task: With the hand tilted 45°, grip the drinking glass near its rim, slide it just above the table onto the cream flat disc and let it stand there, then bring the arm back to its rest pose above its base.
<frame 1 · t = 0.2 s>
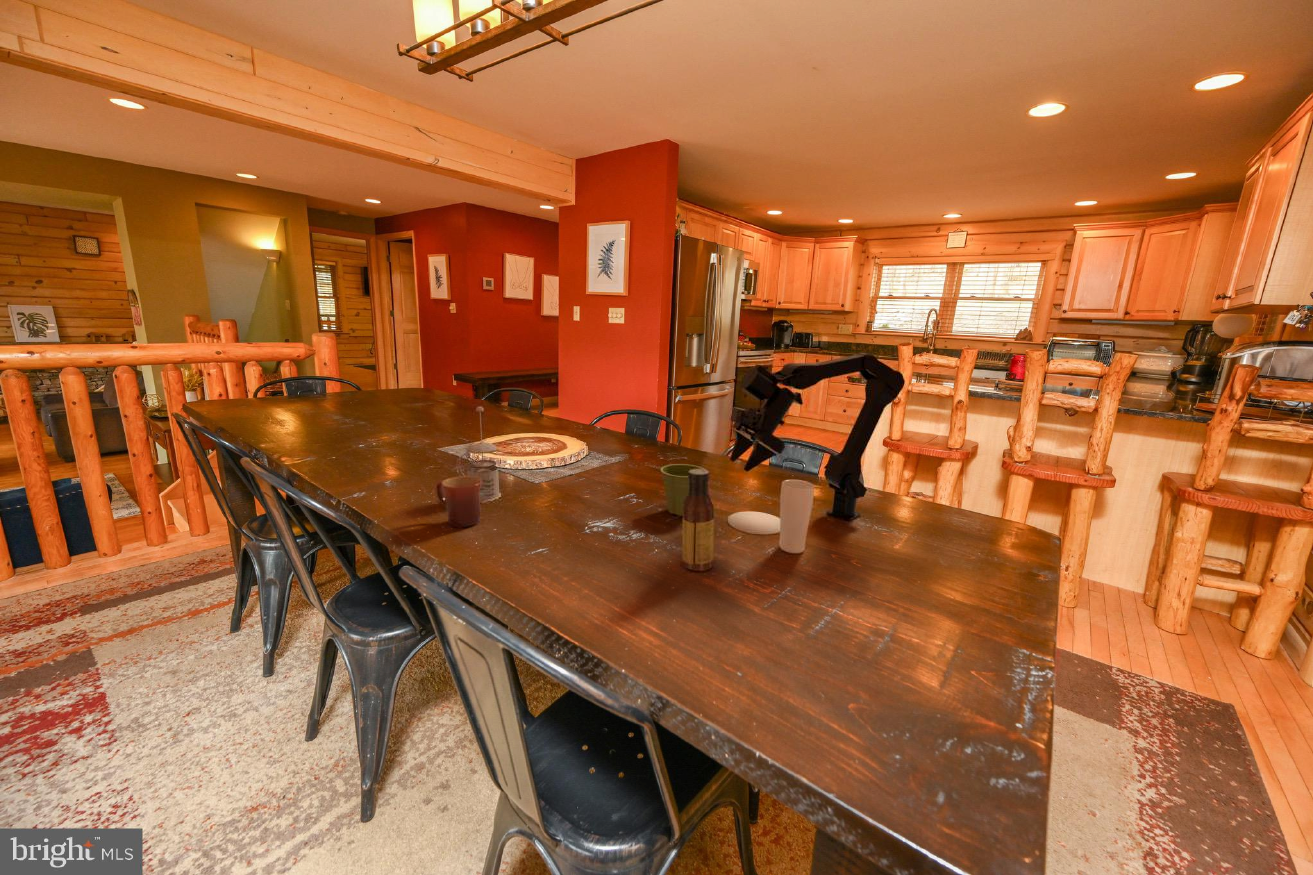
hand: (738, 465, 120), 15 cm above the table, tool tilted 30°, fingers open, 9 cm apart
plant pot: (681, 512, 130), on the table
mug: (459, 522, 119), on the table
french press: (481, 498, 135), on the table
cream flat disc: (756, 522, 124), on the table
sauce bottle: (696, 566, 101), on the table
drinking glass: (791, 549, 110), on the table
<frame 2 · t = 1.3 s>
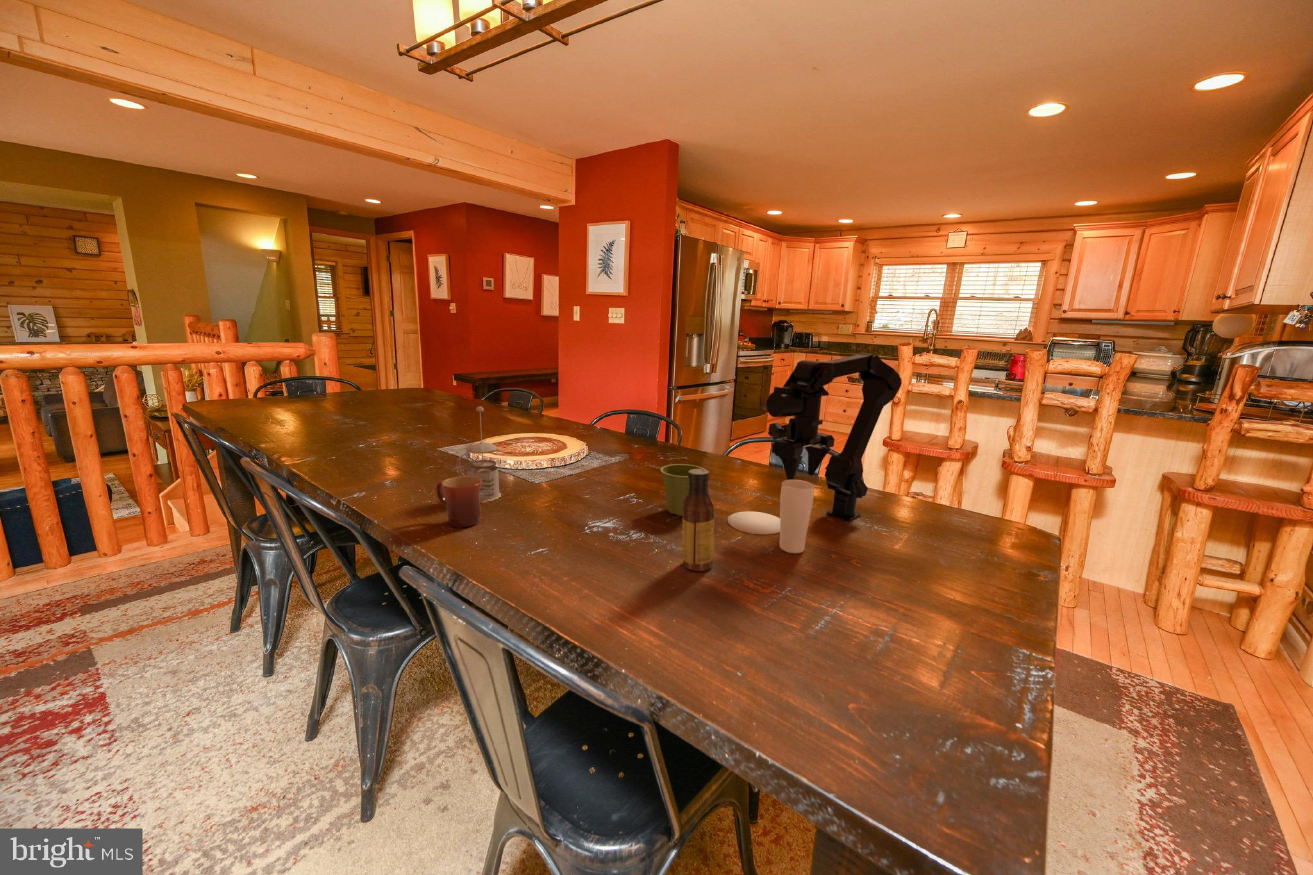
hand: (800, 478, 121), 12 cm above the table, tool pointing down, fingers open, 9 cm apart
nothing on the table moved.
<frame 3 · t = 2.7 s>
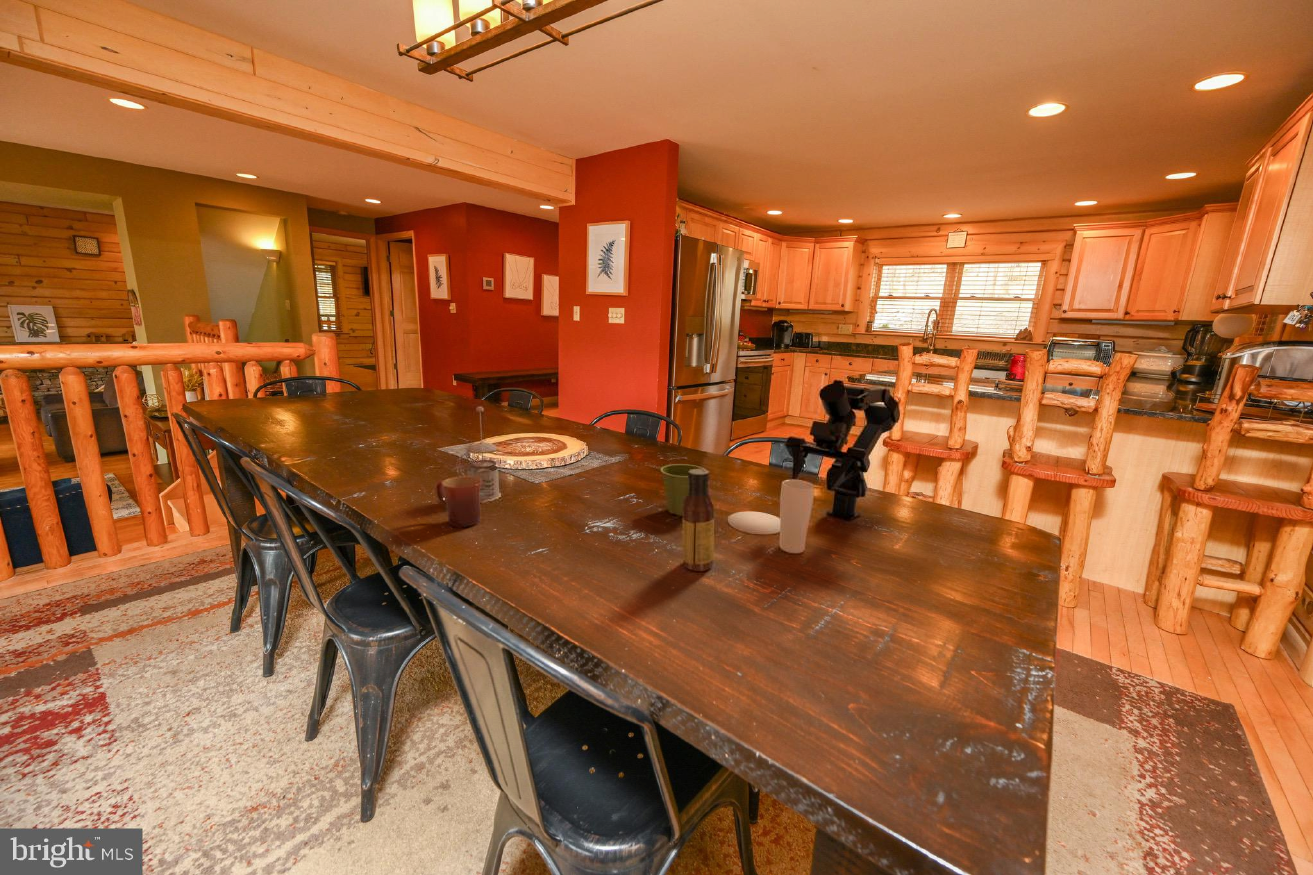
hand: (812, 483, 112), 13 cm above the table, tool tilted 45°, fingers open, 9 cm apart
nothing on the table moved.
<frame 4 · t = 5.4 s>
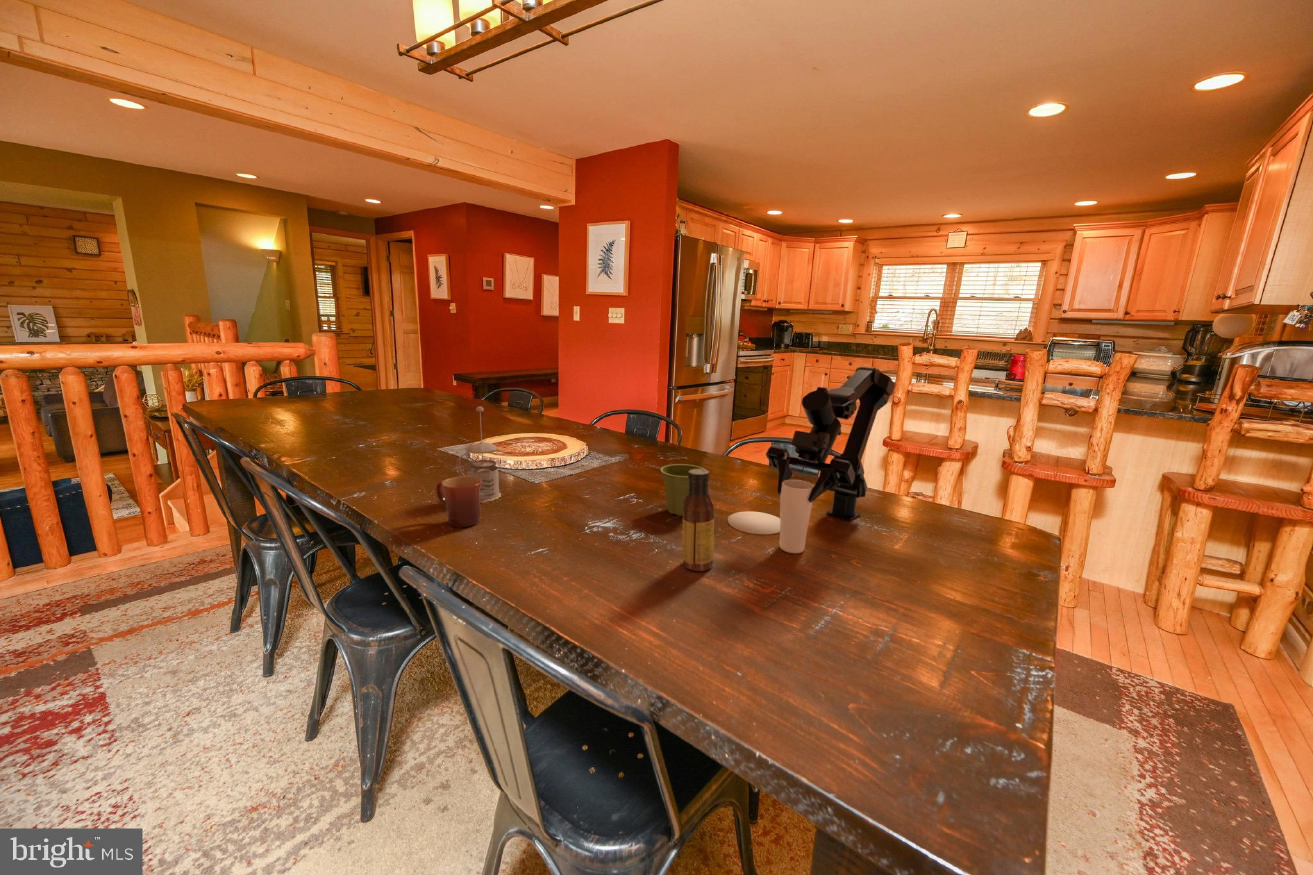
hand: (793, 497, 106), 12 cm above the table, tool tilted 45°, fingers closed on drinking glass, 7 cm apart
drinking glass: (791, 549, 110), on the table, touching gripper
everything else where it was.
when the fingers open (13 cm above the table, at t = 9.6 s): drinking glass stays where it is, resting on cream flat disc.
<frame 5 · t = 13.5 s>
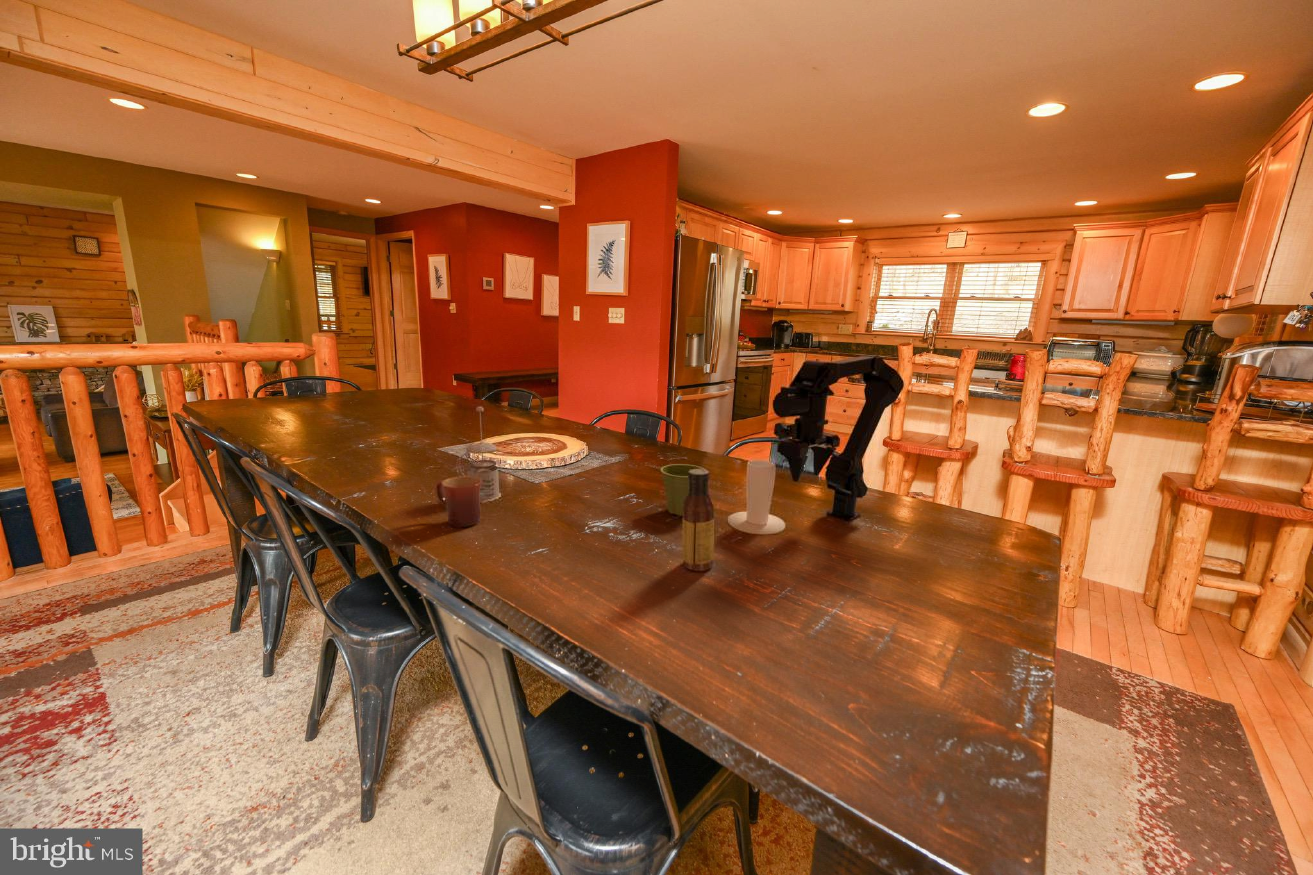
hand: (805, 478, 121), 12 cm above the table, tool pointing down, fingers open, 9 cm apart
drinking glass: (756, 522, 124), resting on cream flat disc
everything else where it was.
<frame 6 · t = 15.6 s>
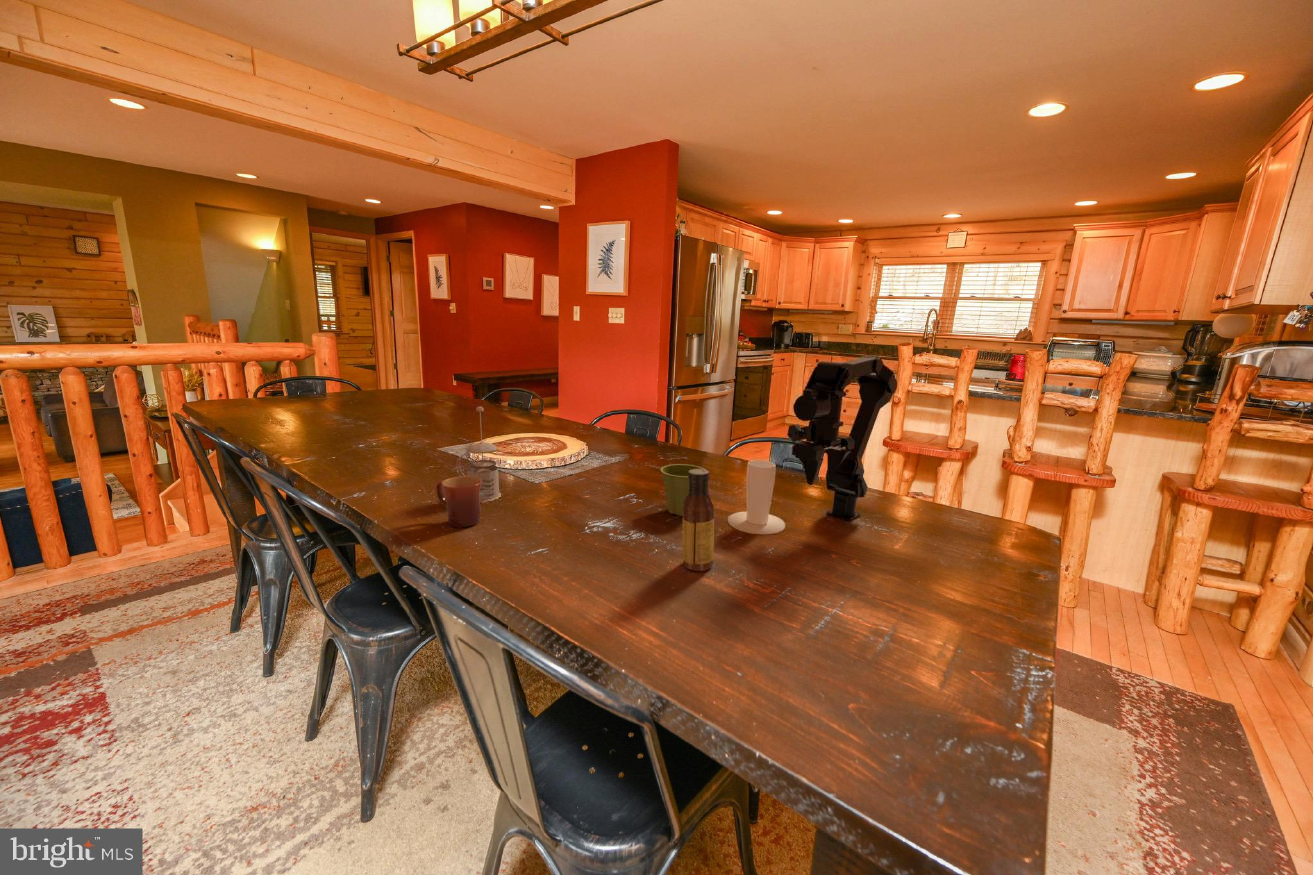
hand: (820, 480, 119), 12 cm above the table, tool pointing down, fingers open, 9 cm apart
nothing on the table moved.
at the end: drinking glass inside the target area on the cream flat disc (0.2 cm from its centre), point 0.1 cm above the cream flat disc's base; drinking glass tilted 0°; the gripper is holding nothing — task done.
